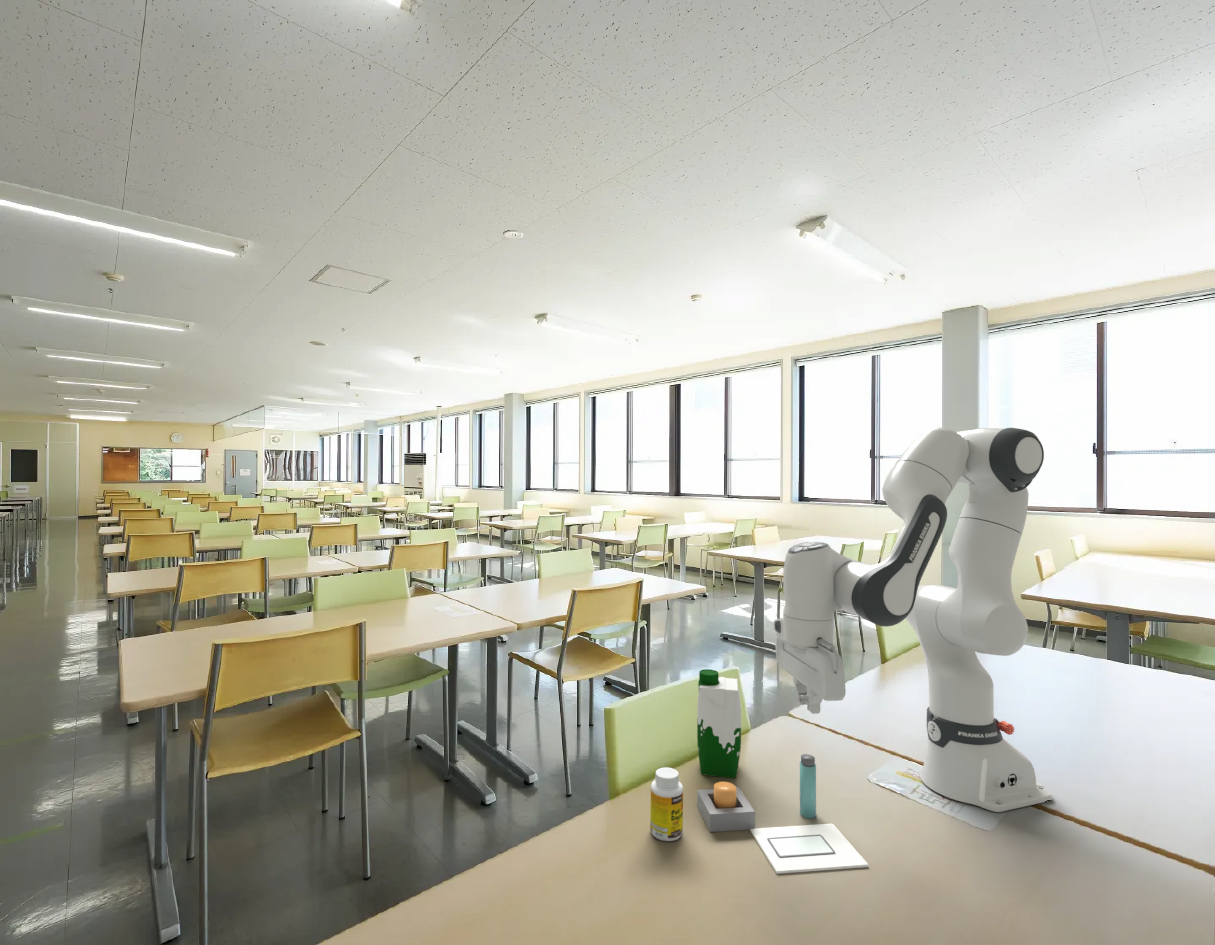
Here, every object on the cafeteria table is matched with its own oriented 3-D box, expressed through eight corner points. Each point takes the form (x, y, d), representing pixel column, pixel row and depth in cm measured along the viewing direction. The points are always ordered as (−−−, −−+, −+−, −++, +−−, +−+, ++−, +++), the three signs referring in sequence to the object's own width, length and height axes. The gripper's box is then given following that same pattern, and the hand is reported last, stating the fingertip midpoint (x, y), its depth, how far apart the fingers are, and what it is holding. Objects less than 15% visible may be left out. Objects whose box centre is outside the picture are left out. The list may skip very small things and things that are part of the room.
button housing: (738, 803, 107) (738, 787, 108) (754, 829, 100) (754, 811, 100) (697, 806, 106) (697, 789, 107) (709, 831, 99) (710, 814, 99)
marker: (811, 809, 106) (811, 753, 106) (818, 817, 103) (818, 760, 103) (797, 810, 106) (797, 754, 106) (804, 818, 103) (804, 761, 103)
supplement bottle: (672, 847, 94) (673, 784, 95) (644, 835, 98) (644, 774, 98) (688, 831, 99) (689, 770, 99) (660, 820, 102) (661, 761, 102)
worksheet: (832, 825, 101) (832, 822, 101) (868, 867, 90) (868, 863, 90) (750, 831, 99) (750, 828, 99) (776, 873, 88) (776, 870, 88)
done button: (732, 799, 105) (732, 781, 105) (739, 812, 101) (739, 792, 101) (710, 801, 105) (711, 782, 105) (717, 813, 101) (717, 793, 101)
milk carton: (698, 756, 126) (698, 665, 127) (740, 761, 124) (740, 668, 125) (696, 776, 118) (696, 678, 118) (741, 781, 116) (741, 681, 116)
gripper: (855, 646, 95) (855, 730, 95) (799, 618, 116) (799, 687, 115) (819, 647, 95) (819, 732, 94) (769, 619, 115) (769, 688, 114)
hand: (808, 707), depth 105 cm, fingers open, 3 cm apart
